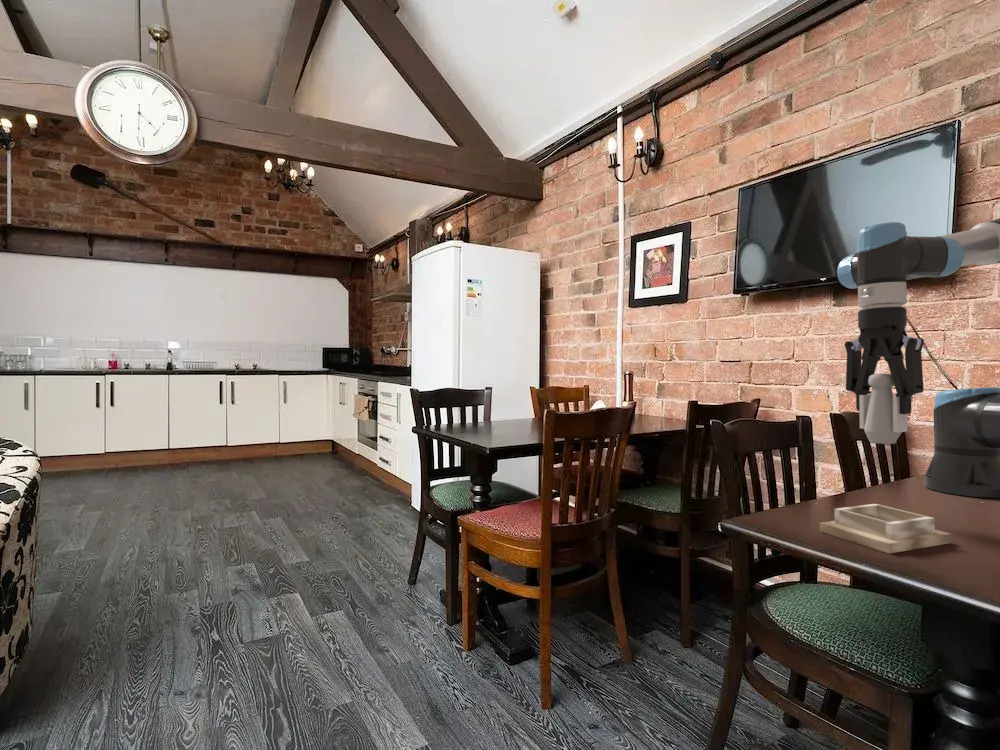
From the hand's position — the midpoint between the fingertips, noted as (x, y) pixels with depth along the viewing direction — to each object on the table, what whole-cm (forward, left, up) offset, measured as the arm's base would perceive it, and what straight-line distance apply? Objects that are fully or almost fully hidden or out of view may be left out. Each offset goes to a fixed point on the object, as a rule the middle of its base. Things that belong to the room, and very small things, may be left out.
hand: (882, 429), depth 103 cm
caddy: (+12, +9, -16) cm, 22 cm away
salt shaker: (0, 0, -3) cm, 3 cm away
